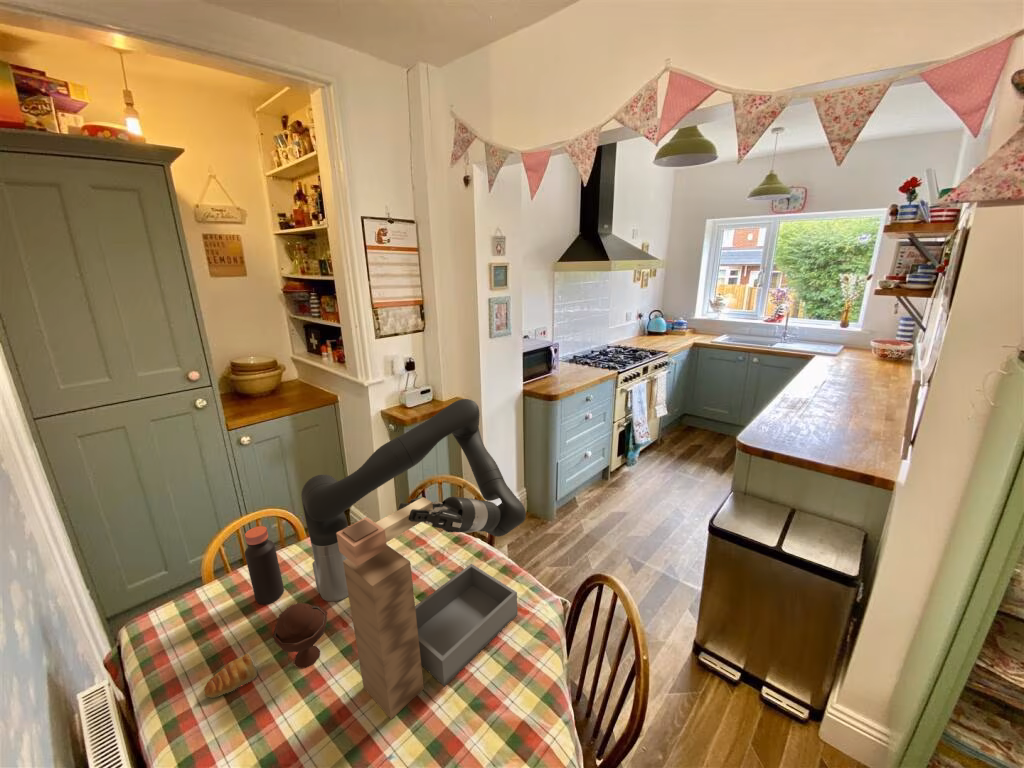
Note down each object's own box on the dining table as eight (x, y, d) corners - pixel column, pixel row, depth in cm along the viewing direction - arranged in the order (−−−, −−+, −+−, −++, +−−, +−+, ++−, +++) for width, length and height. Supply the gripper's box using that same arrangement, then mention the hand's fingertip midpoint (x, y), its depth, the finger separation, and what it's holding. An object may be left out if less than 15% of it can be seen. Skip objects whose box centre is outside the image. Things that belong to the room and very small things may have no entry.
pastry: (209, 709, 86) (205, 695, 85) (202, 687, 91) (197, 673, 90) (260, 677, 93) (257, 663, 91) (251, 658, 97) (247, 645, 96)
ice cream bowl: (343, 643, 100) (334, 591, 96) (307, 686, 90) (295, 631, 86) (307, 631, 103) (297, 580, 99) (268, 672, 93) (255, 617, 89)
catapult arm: (419, 506, 90) (417, 489, 89) (438, 517, 86) (436, 499, 85) (339, 551, 77) (335, 531, 76) (357, 566, 73) (353, 545, 72)
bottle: (289, 591, 116) (276, 528, 110) (264, 609, 110) (249, 543, 104) (275, 582, 119) (262, 520, 113) (250, 598, 114) (235, 534, 108)
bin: (472, 584, 117) (471, 563, 115) (517, 614, 107) (516, 592, 105) (399, 644, 99) (396, 620, 97) (444, 686, 89) (442, 661, 87)
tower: (395, 660, 95) (379, 539, 86) (423, 688, 89) (410, 561, 80) (363, 687, 90) (342, 561, 80) (391, 719, 83) (372, 586, 74)
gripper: (448, 488, 101) (390, 481, 88) (491, 509, 92) (434, 506, 79) (438, 519, 100) (378, 517, 87) (480, 544, 92) (421, 545, 78)
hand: (405, 512), depth 83 cm, fingers closed on catapult arm, 3 cm apart
